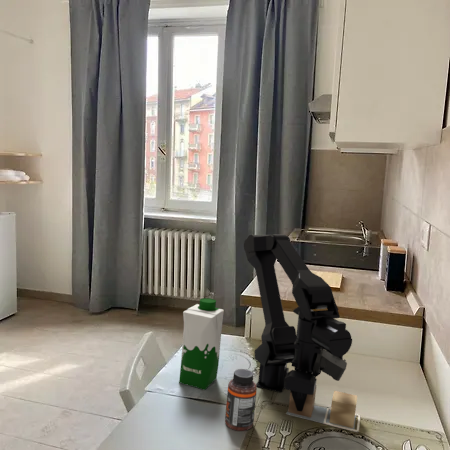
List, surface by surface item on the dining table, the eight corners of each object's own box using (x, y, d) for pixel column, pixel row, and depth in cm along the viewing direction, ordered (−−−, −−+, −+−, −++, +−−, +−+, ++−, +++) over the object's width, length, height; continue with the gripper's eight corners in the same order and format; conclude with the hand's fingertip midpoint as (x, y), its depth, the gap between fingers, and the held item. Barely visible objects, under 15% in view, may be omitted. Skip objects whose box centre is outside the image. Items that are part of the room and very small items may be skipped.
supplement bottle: (223, 416, 98) (228, 365, 96) (250, 417, 98) (255, 366, 97) (225, 432, 92) (230, 378, 91) (255, 433, 92) (260, 379, 91)
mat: (286, 414, 100) (286, 413, 100) (292, 400, 107) (292, 399, 107) (354, 431, 96) (354, 431, 96) (355, 416, 102) (356, 415, 102)
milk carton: (221, 378, 116) (228, 301, 113) (206, 393, 107) (213, 310, 105) (190, 369, 119) (196, 295, 116) (173, 383, 110) (179, 303, 108)
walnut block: (288, 412, 101) (290, 390, 101) (292, 401, 106) (294, 381, 105) (310, 417, 100) (313, 396, 99) (314, 407, 104) (316, 386, 104)
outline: (323, 423, 98) (323, 422, 98) (327, 408, 105) (327, 407, 105) (358, 432, 95) (358, 431, 95) (360, 415, 102) (360, 415, 102)
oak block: (329, 422, 98) (331, 400, 98) (331, 411, 103) (334, 390, 103) (353, 428, 97) (356, 406, 96) (354, 417, 102) (357, 395, 101)
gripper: (343, 361, 90) (333, 436, 91) (349, 332, 107) (341, 395, 109) (287, 350, 93) (279, 422, 95) (302, 323, 111) (295, 385, 113)
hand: (301, 405), depth 103 cm, fingers closed on walnut block, 5 cm apart
